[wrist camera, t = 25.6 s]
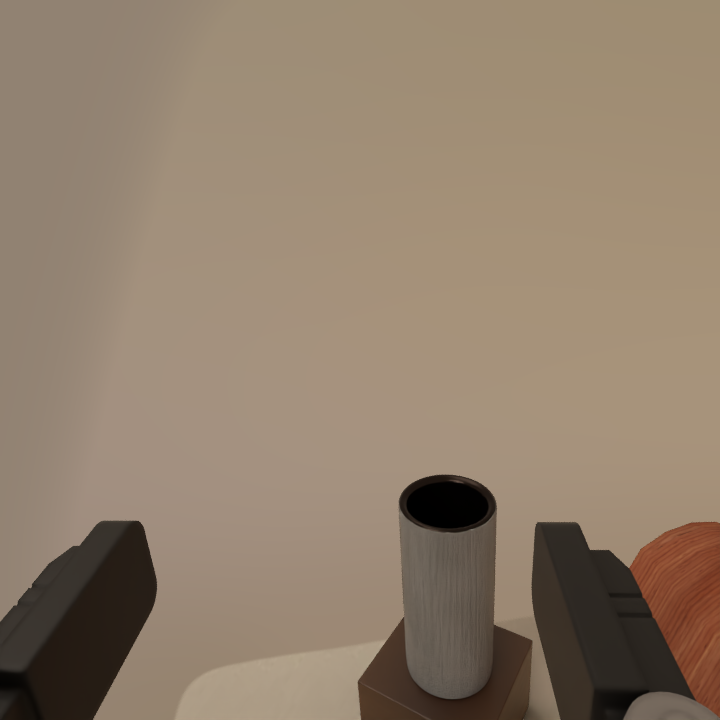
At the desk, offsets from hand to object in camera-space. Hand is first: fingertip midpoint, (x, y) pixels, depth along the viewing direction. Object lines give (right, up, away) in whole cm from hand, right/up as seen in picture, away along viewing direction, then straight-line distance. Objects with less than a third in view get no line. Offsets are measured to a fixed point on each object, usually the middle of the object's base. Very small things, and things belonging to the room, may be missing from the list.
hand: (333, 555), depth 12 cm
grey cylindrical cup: (+5, -12, +19) cm, 23 cm away
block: (+6, -17, +21) cm, 27 cm away
